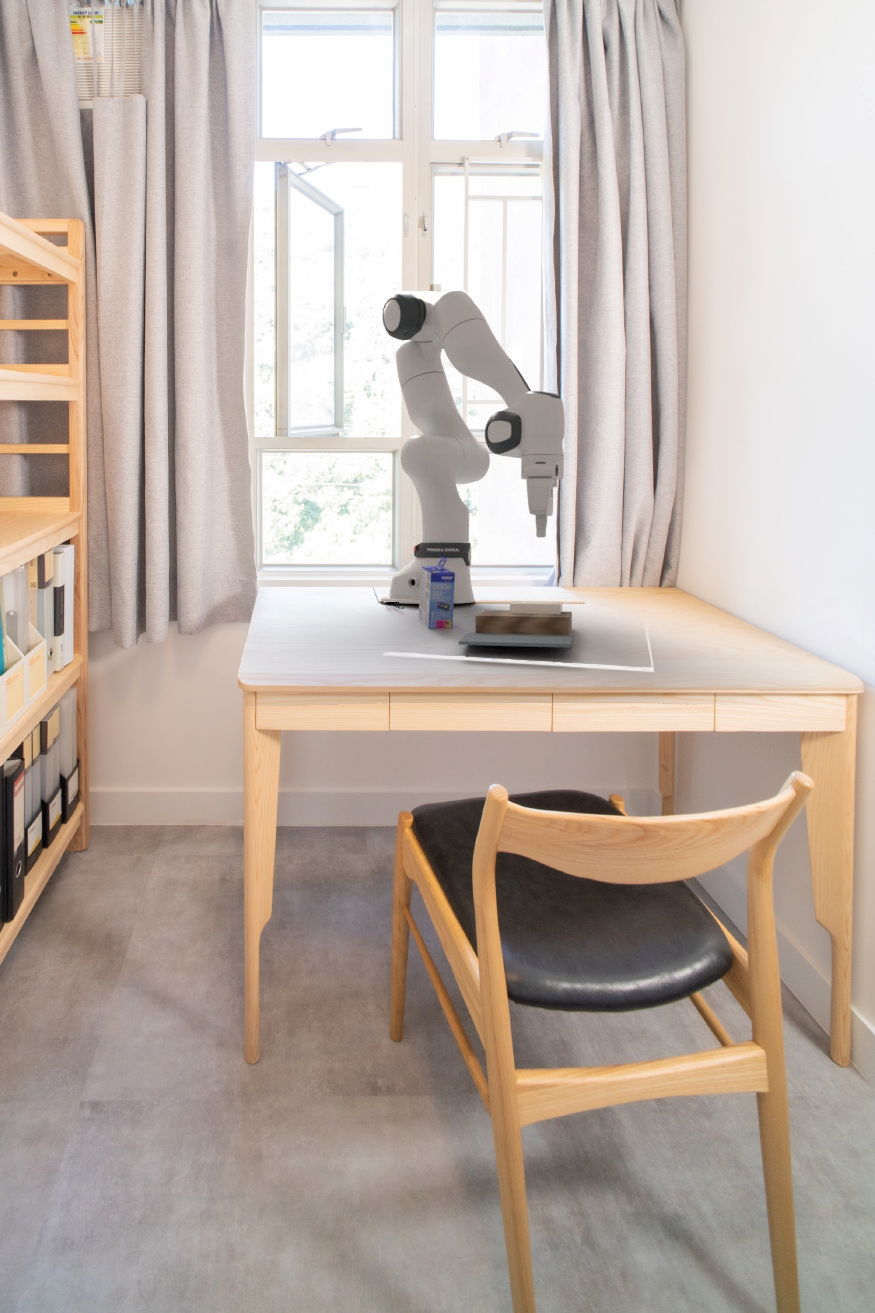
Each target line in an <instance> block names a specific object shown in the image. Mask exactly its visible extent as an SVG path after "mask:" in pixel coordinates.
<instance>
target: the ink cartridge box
mask: <svg viewBox="0 0 875 1313" xmlns="http://www.w3.org/2000/svg"><path fill="white" fill-rule="evenodd" d="M442 561H443V564H442V565H441V562H442ZM446 561H447V559H446V558H444V557H442V558H441V560H440V561H439V563H438V565H437V567H436V566H427V567H421V579H420V600H419V604H418V605H419V606H418V621H419V622H421V623H422V625H423V626H425V627H426V628H427V629H429V630H430V629H431V630H432V629H433V630H435V629H438V630H439V629H453V626H454V625H453V624H454V623H453V622H454V604H455V603H454V581H455V573H454V572H452V571H450V570H448V569H446V568H445V567H443V566H444V564H445V563H446Z"/></svg>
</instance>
